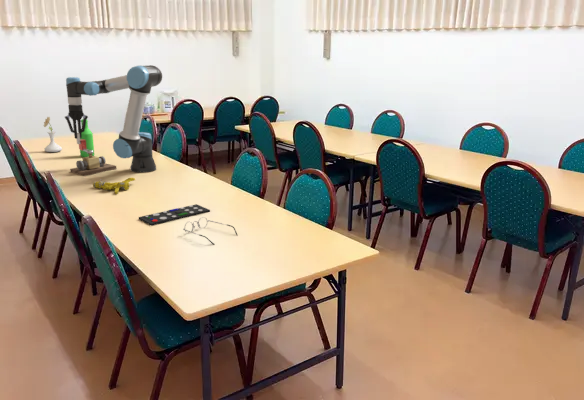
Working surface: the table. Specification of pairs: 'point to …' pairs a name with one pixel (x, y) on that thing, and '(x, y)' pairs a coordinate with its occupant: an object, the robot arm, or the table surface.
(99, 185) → the yellow toy lizard
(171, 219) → the remote control
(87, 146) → the bottle
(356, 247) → the table surface
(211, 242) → the eyeglasses
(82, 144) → the lever
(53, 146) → the flower in vase
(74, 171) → the valve board
